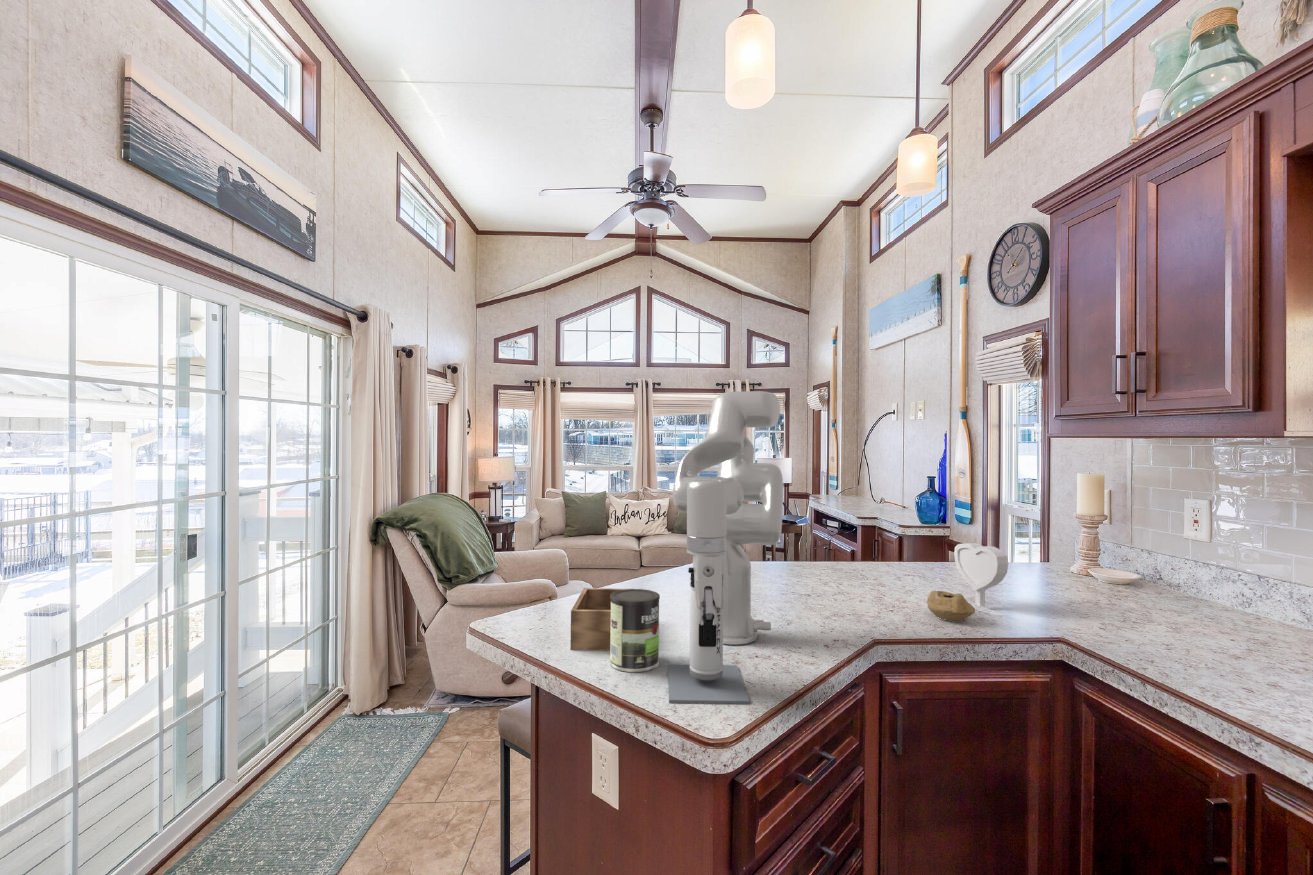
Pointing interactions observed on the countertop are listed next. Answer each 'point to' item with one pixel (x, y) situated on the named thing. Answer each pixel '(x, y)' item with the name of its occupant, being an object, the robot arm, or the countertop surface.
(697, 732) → the countertop surface
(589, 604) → the crate
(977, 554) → the heart sculpture
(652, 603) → the coffee can
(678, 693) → the mat
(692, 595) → the travel mug
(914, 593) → the countertop surface
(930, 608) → the oil lamp
